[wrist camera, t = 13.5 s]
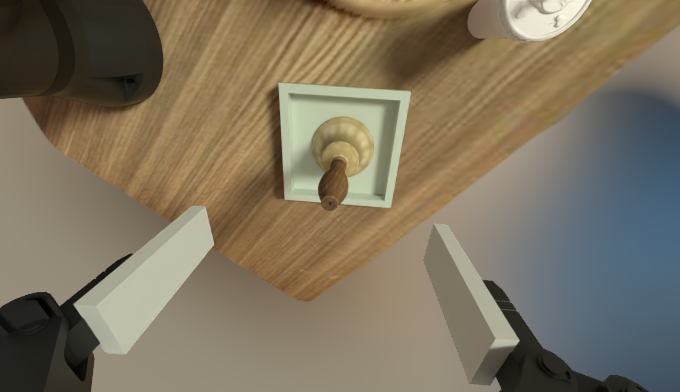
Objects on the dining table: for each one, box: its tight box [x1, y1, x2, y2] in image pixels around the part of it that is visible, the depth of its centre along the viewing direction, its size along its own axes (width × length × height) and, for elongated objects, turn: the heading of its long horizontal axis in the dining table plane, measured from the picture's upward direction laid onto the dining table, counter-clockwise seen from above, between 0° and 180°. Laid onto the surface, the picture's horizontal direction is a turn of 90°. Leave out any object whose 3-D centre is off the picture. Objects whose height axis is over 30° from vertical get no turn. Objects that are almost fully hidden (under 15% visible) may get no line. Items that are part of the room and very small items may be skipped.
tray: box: [279, 82, 411, 208], centre depth 32 cm, size 15×15×2 cm
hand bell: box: [312, 116, 374, 211], centre depth 25 cm, size 8×8×16 cm
